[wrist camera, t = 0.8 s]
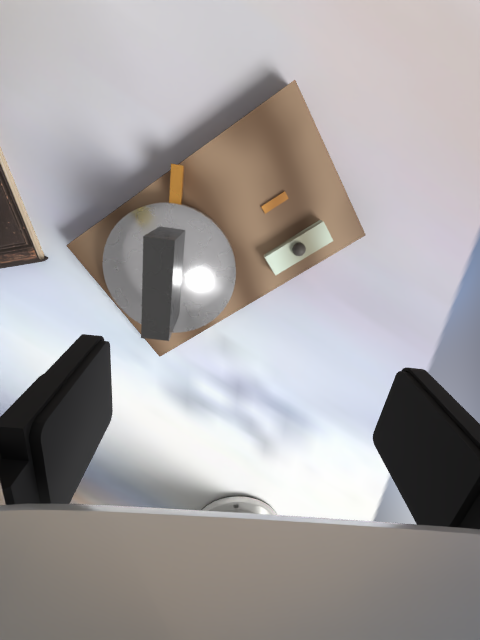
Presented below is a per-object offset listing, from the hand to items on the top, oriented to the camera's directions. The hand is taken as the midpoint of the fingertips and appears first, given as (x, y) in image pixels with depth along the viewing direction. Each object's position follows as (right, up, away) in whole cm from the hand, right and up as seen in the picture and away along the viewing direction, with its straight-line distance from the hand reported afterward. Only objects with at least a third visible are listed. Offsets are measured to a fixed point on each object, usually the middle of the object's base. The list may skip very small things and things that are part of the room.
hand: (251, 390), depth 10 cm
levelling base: (-3, +11, +21) cm, 24 cm away
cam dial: (-7, +9, +19) cm, 22 cm away
